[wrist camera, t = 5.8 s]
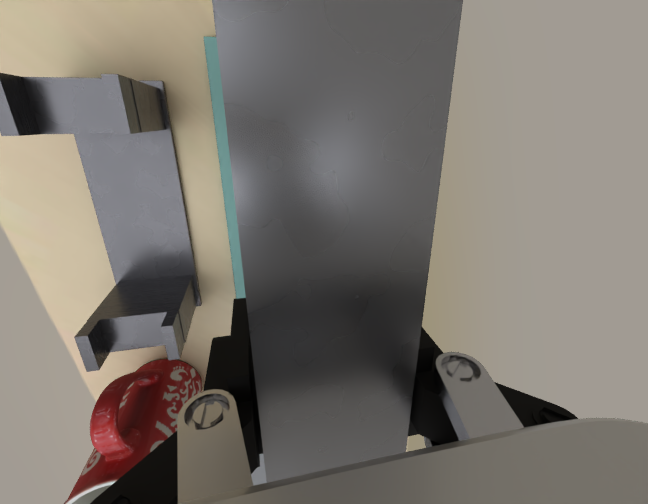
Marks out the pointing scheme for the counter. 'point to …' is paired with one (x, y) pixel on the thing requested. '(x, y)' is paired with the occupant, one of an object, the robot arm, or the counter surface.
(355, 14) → the rail
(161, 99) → the brackets
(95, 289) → the counter surface
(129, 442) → the mug
